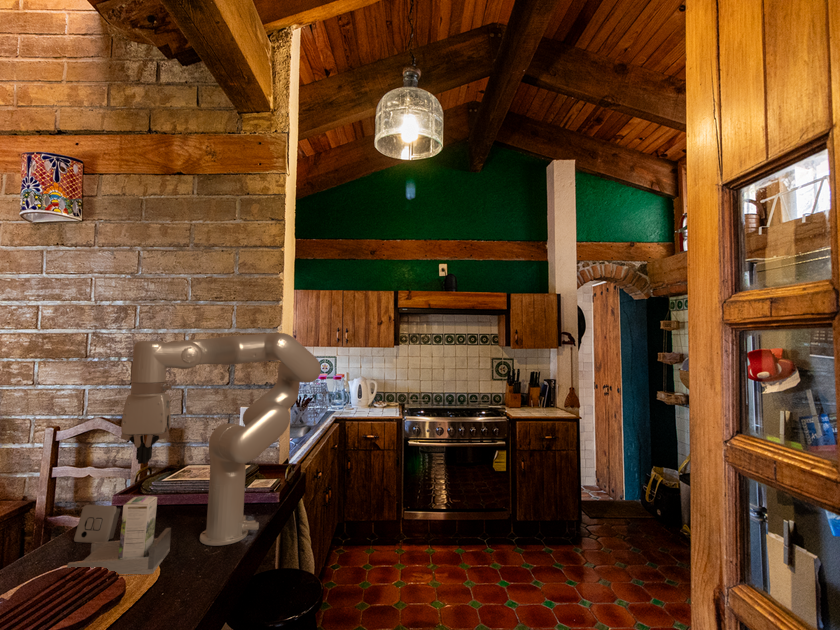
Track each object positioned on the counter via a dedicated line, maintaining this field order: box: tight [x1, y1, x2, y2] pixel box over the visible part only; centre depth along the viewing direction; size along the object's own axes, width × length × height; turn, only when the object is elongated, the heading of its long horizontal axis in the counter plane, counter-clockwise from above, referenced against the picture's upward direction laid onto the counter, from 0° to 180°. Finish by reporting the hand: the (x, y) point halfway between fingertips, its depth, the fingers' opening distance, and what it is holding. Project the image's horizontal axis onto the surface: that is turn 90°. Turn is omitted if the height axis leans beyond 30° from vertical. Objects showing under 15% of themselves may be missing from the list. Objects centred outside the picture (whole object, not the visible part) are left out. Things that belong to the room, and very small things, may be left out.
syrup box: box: [118, 495, 158, 559], centre depth 109 cm, size 6×6×14 cm
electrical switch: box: [73, 504, 121, 544], centre depth 122 cm, size 9×5×9 cm, turn 86°
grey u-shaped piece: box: [66, 527, 172, 575], centre depth 108 cm, size 18×12×6 cm, turn 103°
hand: (143, 462), depth 111 cm, fingers closed
